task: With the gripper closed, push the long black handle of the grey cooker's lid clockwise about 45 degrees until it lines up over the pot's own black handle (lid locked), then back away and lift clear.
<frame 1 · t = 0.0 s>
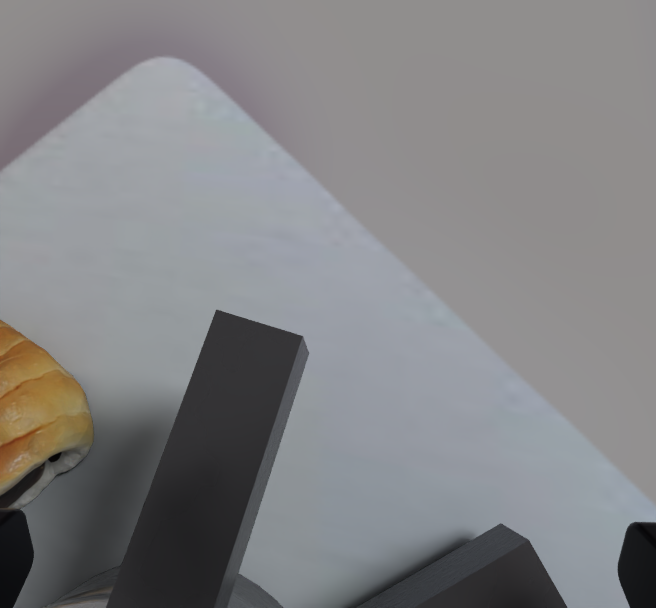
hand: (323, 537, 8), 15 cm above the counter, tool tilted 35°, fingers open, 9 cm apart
pastry: (11, 417, 23), on the counter
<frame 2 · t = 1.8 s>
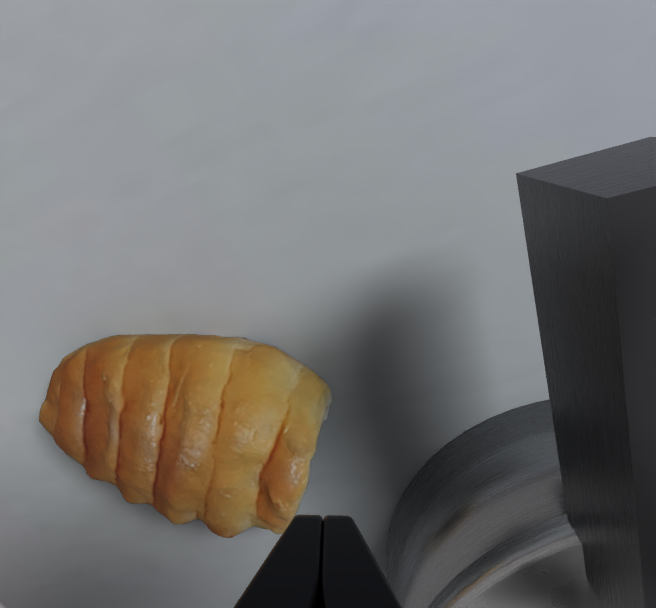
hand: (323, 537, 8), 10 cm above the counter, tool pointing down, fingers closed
pot: (562, 550, 20), on the counter
pastry: (215, 408, 19), on the counter
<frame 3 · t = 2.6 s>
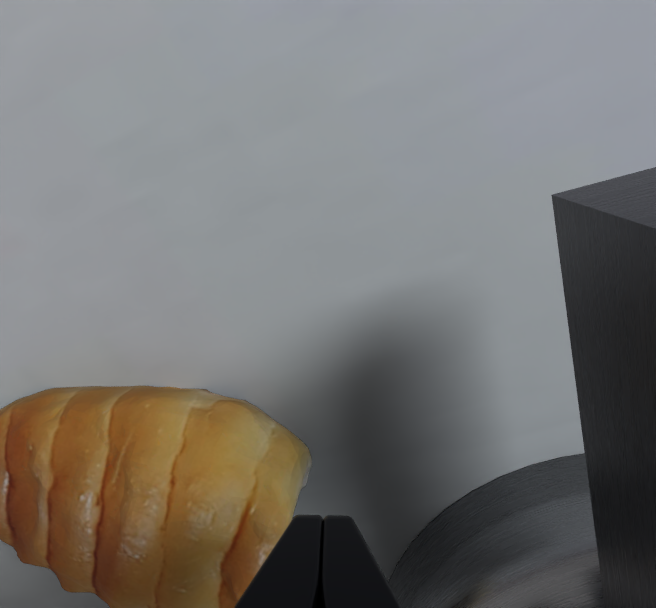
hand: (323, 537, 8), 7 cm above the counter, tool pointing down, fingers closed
pastry: (176, 469, 16), on the counter
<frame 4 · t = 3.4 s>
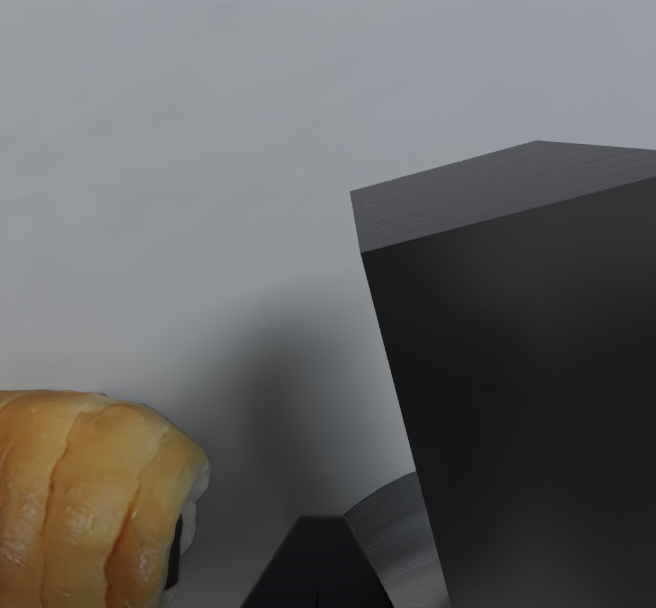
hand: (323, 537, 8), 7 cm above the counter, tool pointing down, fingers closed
pastry: (85, 472, 16), on the counter
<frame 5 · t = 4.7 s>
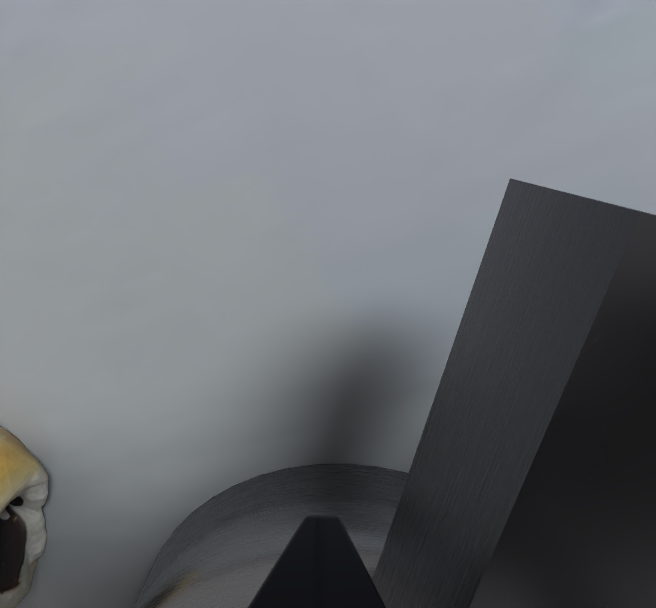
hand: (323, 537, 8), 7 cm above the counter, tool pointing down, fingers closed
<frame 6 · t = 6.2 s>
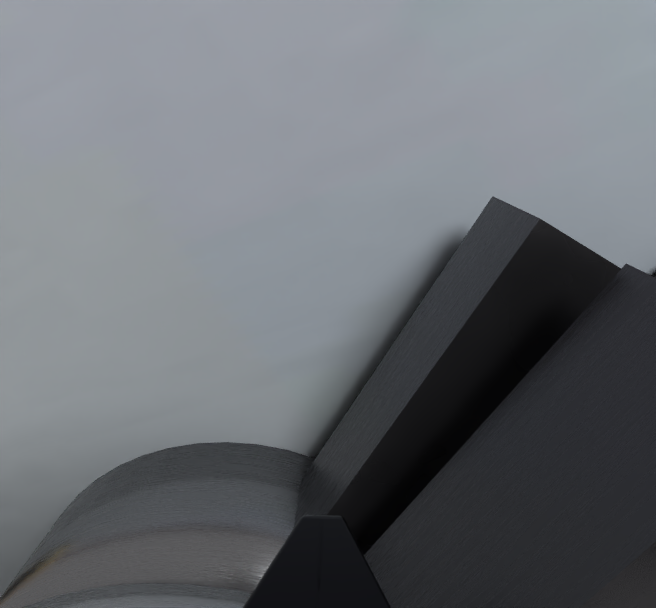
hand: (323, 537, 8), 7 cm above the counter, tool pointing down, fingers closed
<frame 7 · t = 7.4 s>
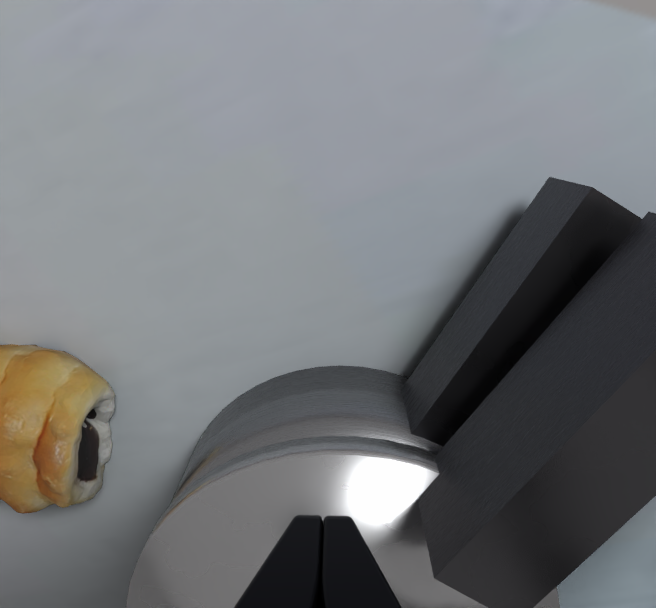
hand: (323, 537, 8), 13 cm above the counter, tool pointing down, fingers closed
lid: (424, 577, 15), point 7 cm above the counter, hinge at -3.8°
pot: (340, 505, 23), on the counter
pastry: (30, 407, 22), on the counter
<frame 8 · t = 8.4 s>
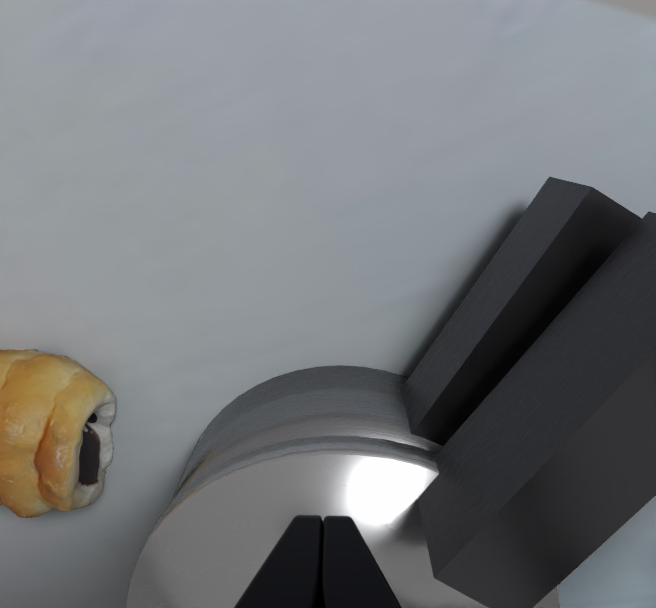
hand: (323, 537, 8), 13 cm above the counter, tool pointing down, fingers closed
lid: (424, 577, 15), point 7 cm above the counter, hinge at -3.8°
pot: (340, 505, 23), on the counter
pastry: (32, 412, 22), on the counter
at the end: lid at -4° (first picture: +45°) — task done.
